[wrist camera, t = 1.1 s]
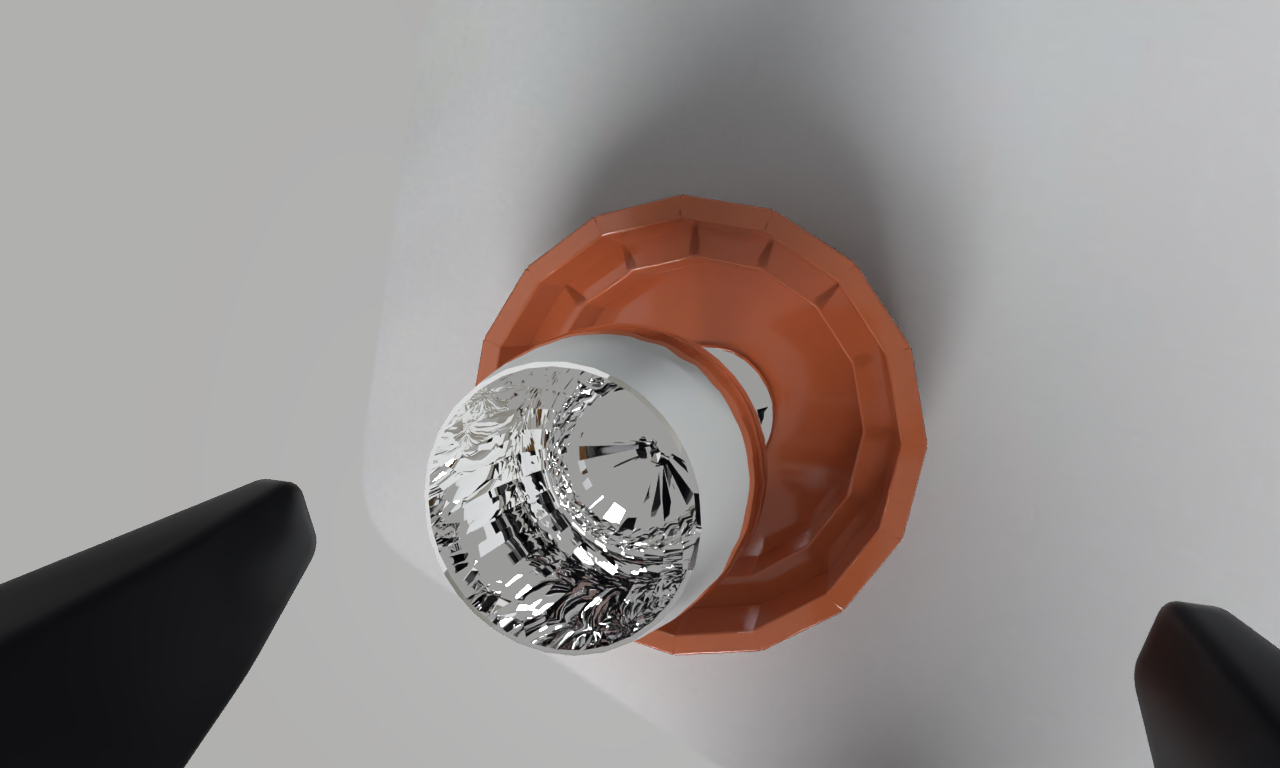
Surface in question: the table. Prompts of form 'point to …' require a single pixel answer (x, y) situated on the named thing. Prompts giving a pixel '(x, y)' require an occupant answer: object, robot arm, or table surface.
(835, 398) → the bowl
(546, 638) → the wineglass
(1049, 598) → the table surface
